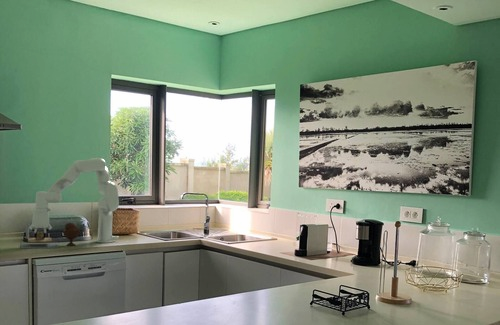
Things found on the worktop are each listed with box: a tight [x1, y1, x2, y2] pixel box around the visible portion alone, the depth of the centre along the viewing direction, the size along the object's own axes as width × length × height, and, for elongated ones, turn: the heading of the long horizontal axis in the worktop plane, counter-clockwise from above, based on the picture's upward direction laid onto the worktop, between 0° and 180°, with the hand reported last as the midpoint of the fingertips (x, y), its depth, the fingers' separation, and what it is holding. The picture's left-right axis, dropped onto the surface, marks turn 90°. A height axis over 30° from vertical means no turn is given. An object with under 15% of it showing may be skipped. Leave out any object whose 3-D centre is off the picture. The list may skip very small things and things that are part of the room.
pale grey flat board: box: [20, 242, 60, 250], centre depth 322 cm, size 22×18×1 cm
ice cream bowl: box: [62, 222, 81, 247], centre depth 329 cm, size 11×11×15 cm
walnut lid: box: [27, 231, 53, 243], centre depth 321 cm, size 14×14×5 cm
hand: (39, 238), depth 321 cm, fingers closed on walnut lid, 4 cm apart
